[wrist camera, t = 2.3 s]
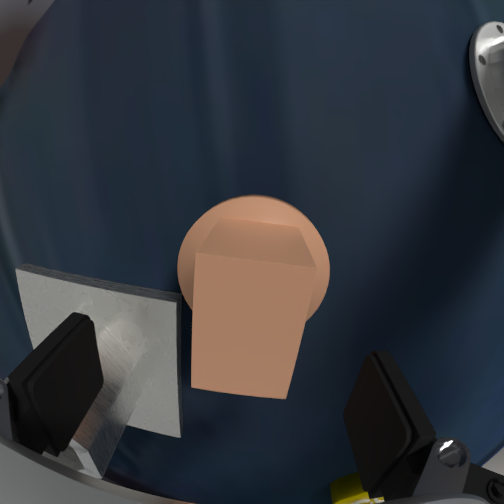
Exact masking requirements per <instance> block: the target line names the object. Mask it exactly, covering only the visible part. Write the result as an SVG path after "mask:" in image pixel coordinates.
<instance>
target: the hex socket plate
mask: <svg viewBox="0 0 504 504" xmlns="http://www.w3.org/2000/svg"><path fill="white" fill-rule="evenodd" d="M16 275H17V281H18V286H19V292H20V297H21V301H22V306H23V310H24V315H25V319H26V323H27V327H28V331H29V334H30V338H31V341H32V345H33V348H34V349H35V348H36V347H37V346H38V345H39V344H40V343H41V342H42V341H43V340H44V339H45V338H46V337H47V336H48V335H49V334H50V333H51V332H52V331H53V330H54V329H55V328H56V327H58V326H59V325H60V324H61V323H62V322H63V321H64V320H65V319H66V318H67V317H68V316H69V315H70V314H71V313H73V312H77V313H81V314H86V315H88V316H89V317H90V320H92V321H93V322H94V326H95V333H96V340H97V346H98V351H99V357H100V362H101V367H102V372H103V377H104V383H103V387H102V389H101V390H100V392H99V394H98V395H97V397H96V399H95V400H94V402H93V404H92V405H91V407H90V409H89V410H88V412H87V414H86V416H85V417H84V419H83V421H82V422H81V424H80V426H79V428H78V429H77V431H76V433H75V435H74V436H73V438H72V440H71V442H70V443H69V445H68V447H67V449H66V450H65V451H63V452H62V451H61V452H60V454H59V456H58V458H57V457H55V456H53V455H51V454H49V453H47V452H45V451H44V452H43V454H42V456H44V457H46V458H49V459H51V460H53V461H55V462H58V463H60V464H62V465H64V466H67V467H69V468H71V469H74V470H76V471H79V472H81V473H84V474H86V475H89V476H92V477H94V478H97V479H100V478H103V476H104V473H105V471H106V469H107V466H108V464H109V462H110V460H111V457H112V455H113V453H114V451H115V449H116V446H117V444H118V442H119V440H120V438H121V436H122V433H123V431H124V429H125V427H126V425H130V426H133V427H137V428H141V429H144V430H148V431H152V432H156V433H160V434H165V435H169V436H174V437H179V438H181V435H182V431H183V428H184V427H183V406H182V372H181V308H182V293H175V292H169V291H163V290H157V289H151V288H145V287H139V286H134V285H128V284H123V283H117V282H112V281H107V280H101V279H96V278H91V277H86V276H81V275H76V274H72V273H67V272H62V271H57V270H53V269H48V268H44V267H39V266H35V265H31V264H26V263H25V264H23V265H21V266H19V267H18V268H16ZM4 382H5V384H7V383H8V382H9V379H8V377H7V378H6V379H5V380H4Z"/></svg>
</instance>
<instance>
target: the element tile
mask: <svg viewBox="0 0 504 504" xmlns="http://www.w3.org/2000/svg"><path fill="white" fill-rule="evenodd" d="M330 491H331V499H332V504H374V503H380V502H384V498H383V497H379V498H374V499H369V496H368V492H364V490H363V488H362V484H361V480H360V477H359V473H358V472H356V473H353V474H350V475H347V476H345V477H342V478H339V479H337V480H335V481H333V482H332V483H331V484H330Z"/></svg>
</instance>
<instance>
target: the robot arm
mask: <svg viewBox="0 0 504 504" xmlns="http://www.w3.org/2000/svg"><path fill="white" fill-rule="evenodd" d="M469 63H470V69H471V76H472V79H473V83H474V87H475V91H476V93H477V96H478V99H479V102H480V104H481V106H482V109H483V111H484V113H485V115H486V117H487V119H488V121H489V122H490V124H491V126H492V128H493V129H494V131H495V132H496V133H497V135H498V136H499V138H500V139H501V140H502V141H503V142H504V23H501V22H495V21H493V22H488V23H486V24H484V25H482V26H480V27H478V28H477V30H476V31H475V32H474V34H473V36H472V38H471V42H470V48H469ZM8 379H9V382H8V383H7V384H5V382H4V381H2V380H1V379H0V504H194V503H188V502H183V501H178V500H173V499H168V498H163V497H159V496H155V495H150V494H146V493H143V492H139V491H135V490H132V489H128V488H125V487H121V486H118V485H115V484H111V483H109V482H106V481H103V480H100V479H97V478H94V477H92V476H89V475H86V474H84V473H81V472H79V471H76V470H74V469H71V468H69V467H67V466H64V465H62V464H60V463H58V462H55V461H53V460H51V459H49V458H46V457H44V456H42V454H43V452H44V451H45V452H47V453H49V454H51V455H53V456H55V457H57V458H58V456H59V454H60V452H61V451H62V452H63V451H65V450H66V449H67V447H68V445H69V443H70V442H71V440H72V438H73V436H74V435H75V433H76V431H77V429H78V428H79V426H80V424H81V422H82V421H83V419H84V417H85V416H86V414H87V412H88V410H89V409H90V407H91V405H92V404H93V402H94V400H95V399H96V397H97V395H98V394H99V392H100V390H101V389H102V387H103V383H104V377H103V372H102V367H101V362H100V357H99V351H98V346H97V340H96V333H95V326H94V322H93V321H92V320H90V317H89V316H88V315H86V314H81V313H77V312H73V313H71V314H70V315H69V316H68V317H67V318H66V319H65V320H64V321H63V322H62V323H61V324H60V325H59V326H58V327H56V328H55V329H54V330H53V331H52V332H51V333H50V334H49V335H48V336H47V337H46V338H45V339H44V340H43V341H42V342H41V343H40V344H39V345H38V346H37V347H36V348H35V349H34V350H33V351H32V352H31V353H30V354H29V355H28V356H27V357H26V358H25V359H24V360H23V361H22V362H21V363H20V364H19V365H18V366H17V367H16V368H15V370H14V371H13V372H12V373H11V374H10V375H9V376H8ZM344 421H345V425H346V428H347V432H348V435H349V439H350V443H351V446H352V450H353V454H354V458H355V461H356V465H357V469H358V473H359V477H360V480H361V484H362V488H363V490H364V492H368V496H369V499H374V498H379V497H383V498H384V502H380V503H374V504H504V476H503V475H500V474H497V473H495V472H492V471H490V470H487V469H485V468H482V467H480V466H477V465H475V464H473V463H470V461H471V454H470V451H469V449H468V448H467V446H466V445H465V444H464V443H463V442H462V441H460V440H458V439H456V438H451V437H444V438H441V439H439V440H438V441H437V439H436V437H435V435H436V432H435V430H434V429H433V427H432V425H431V423H430V421H429V419H428V418H427V416H426V414H425V412H424V410H423V408H422V407H421V405H420V403H419V401H418V400H417V398H416V396H415V394H414V392H413V391H412V389H411V387H410V386H409V384H408V382H407V380H406V379H405V377H404V375H403V374H402V372H401V370H400V368H399V367H398V365H397V363H396V362H395V360H394V358H393V357H392V355H391V354H390V352H388V351H373V352H372V353H371V354H370V355H367V356H366V358H365V360H364V363H363V365H362V368H361V371H360V373H359V376H358V378H357V381H356V383H355V386H354V388H353V391H352V393H351V395H350V398H349V400H348V402H347V405H346V407H345V409H344Z"/></svg>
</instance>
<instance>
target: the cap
mask: <svg viewBox="0 0 504 504" xmlns="http://www.w3.org/2000/svg"><path fill="white" fill-rule="evenodd" d="M177 267H178V279H179V285H180V288H181V291H182V294H183V296H184V298H185V300H186V302H187V303H188V305H189V307H190V308H191V309H192V311H193V318H192V365H191V387H192V388H198V389H204V390H211V391H217V392H224V393H231V394H239V395H248V396H257V397H268V398H279V399H286V396H287V393H288V389H289V385H290V382H291V378H292V374H293V370H294V366H295V362H296V359H297V355H298V351H299V346H300V342H301V338H302V334H303V330H304V326H305V322H306V321H307V320H308V319H309V318H310V317H311V316H312V315H313V314H314V312H315V311H316V310H317V309H318V307H319V305H320V304H321V302H322V300H323V298H324V296H325V293H326V290H327V287H328V282H329V276H330V265H329V258H328V254H327V250H326V247H325V245H324V242H323V240H322V238H321V236H320V235H319V233H318V232H317V230H316V228H315V227H314V226H313V224H312V223H311V222H310V220H309V219H308V218H307V217H306V216H305V215H304V214H303V213H302V212H301V211H299V210H298V209H297V208H295V207H294V206H292V205H291V204H289V203H287V202H285V201H283V200H280V199H277V198H274V197H270V196H265V195H242V196H237V197H233V198H230V199H227V200H225V201H223V202H221V203H219V204H217V205H215V206H214V207H212V208H211V209H209V210H208V211H207V212H206V213H205V214H204V215H203V216H202V217H201V218H200V219H198V220H197V221H196V222H195V224H194V225H193V226H192V227H191V229H190V230H189V231H188V233H187V235H186V237H185V238H184V241H183V243H182V245H181V248H180V252H179V256H178V265H177Z"/></svg>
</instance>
